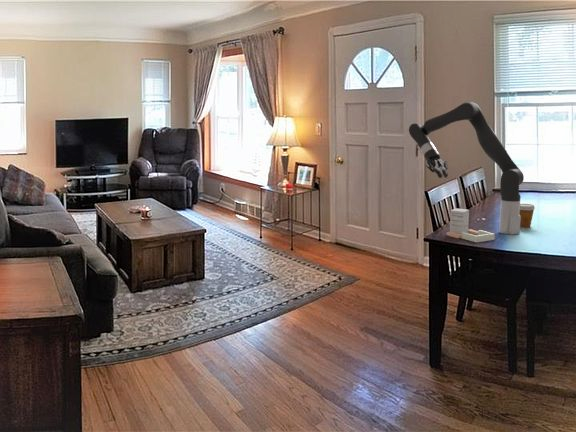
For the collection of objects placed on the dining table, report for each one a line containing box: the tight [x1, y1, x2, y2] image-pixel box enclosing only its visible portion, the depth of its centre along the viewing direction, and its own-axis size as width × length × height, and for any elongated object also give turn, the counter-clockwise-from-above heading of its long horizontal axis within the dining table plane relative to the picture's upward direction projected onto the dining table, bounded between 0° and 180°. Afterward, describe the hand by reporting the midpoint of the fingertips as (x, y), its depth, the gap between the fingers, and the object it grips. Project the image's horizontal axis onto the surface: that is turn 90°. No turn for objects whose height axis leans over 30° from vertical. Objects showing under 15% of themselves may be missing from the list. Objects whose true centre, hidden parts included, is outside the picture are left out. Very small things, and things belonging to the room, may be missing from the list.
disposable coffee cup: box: [519, 203, 536, 229], centre depth 301 cm, size 10×10×12 cm
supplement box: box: [449, 208, 470, 235], centre depth 286 cm, size 7×7×13 cm
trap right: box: [468, 228, 478, 236], centre depth 286 cm, size 8×3×2 cm, turn 26°
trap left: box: [446, 231, 463, 239], centre depth 281 cm, size 8×3×2 cm, turn 25°
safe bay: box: [461, 229, 496, 243], centre depth 275 cm, size 10×12×3 cm
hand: (443, 176), depth 297 cm, fingers open, 3 cm apart
